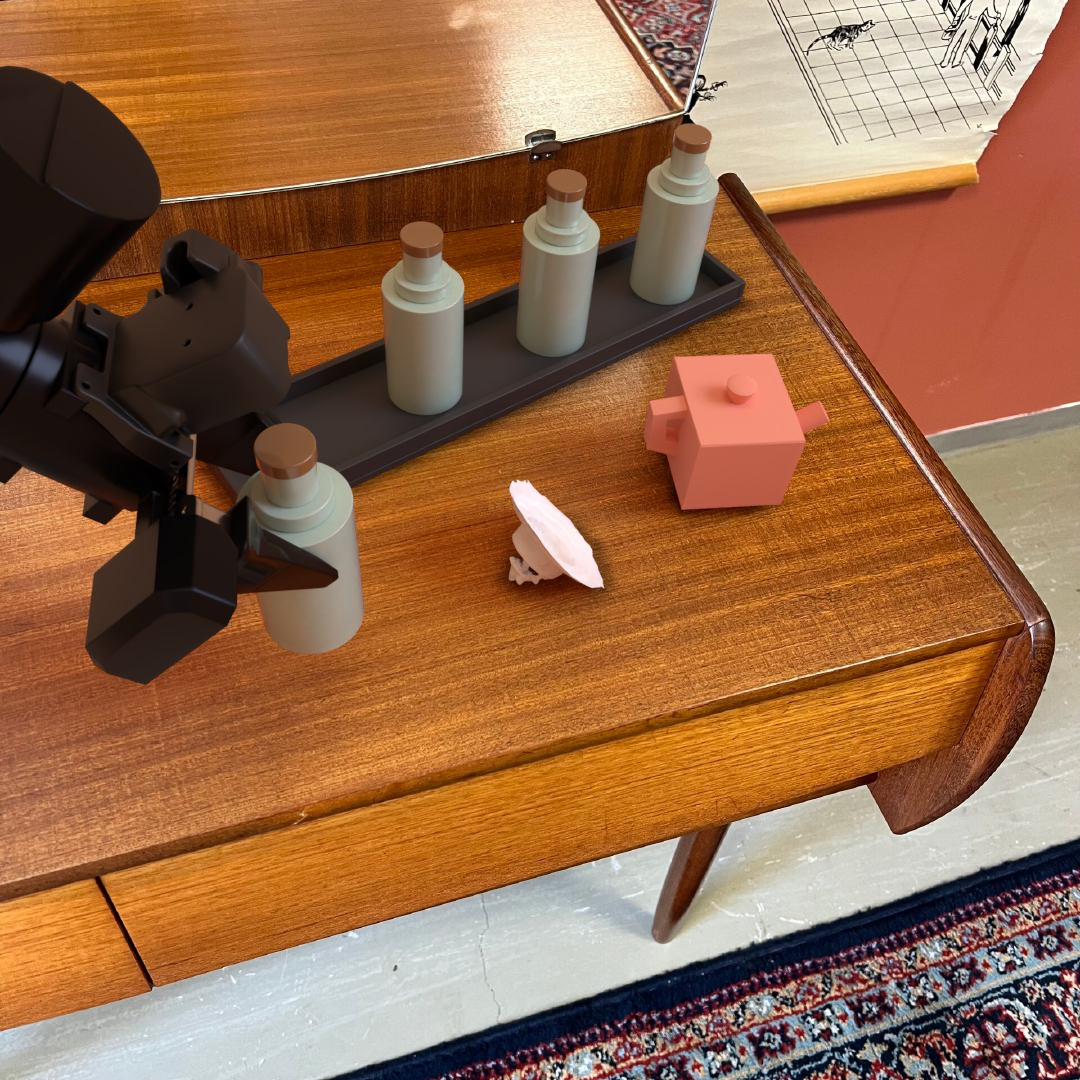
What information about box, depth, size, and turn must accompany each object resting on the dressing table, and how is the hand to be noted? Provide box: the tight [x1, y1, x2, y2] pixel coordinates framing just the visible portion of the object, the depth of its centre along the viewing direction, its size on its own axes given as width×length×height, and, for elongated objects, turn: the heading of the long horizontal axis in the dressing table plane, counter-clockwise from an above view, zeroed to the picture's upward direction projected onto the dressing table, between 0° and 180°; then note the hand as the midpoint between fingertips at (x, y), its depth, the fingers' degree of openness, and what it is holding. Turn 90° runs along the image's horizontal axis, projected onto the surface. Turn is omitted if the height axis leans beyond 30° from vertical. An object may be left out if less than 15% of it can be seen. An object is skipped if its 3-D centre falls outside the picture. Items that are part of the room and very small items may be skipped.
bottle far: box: [629, 123, 720, 305], centre depth 74 cm, size 5×5×13 cm
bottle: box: [236, 423, 365, 655], centre depth 48 cm, size 5×5×13 cm
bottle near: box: [380, 221, 465, 415], centre depth 66 cm, size 5×5×13 cm
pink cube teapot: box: [643, 353, 830, 511], centre depth 65 cm, size 8×12×8 cm, turn 97°
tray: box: [205, 233, 747, 505], centre depth 72 cm, size 42×9×2 cm, turn 127°
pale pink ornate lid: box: [508, 479, 605, 589], centre depth 61 cm, size 8×5×8 cm
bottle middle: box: [516, 168, 601, 357], centre depth 70 cm, size 5×5×13 cm
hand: (330, 532), depth 48 cm, fingers closed on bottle, 5 cm apart
